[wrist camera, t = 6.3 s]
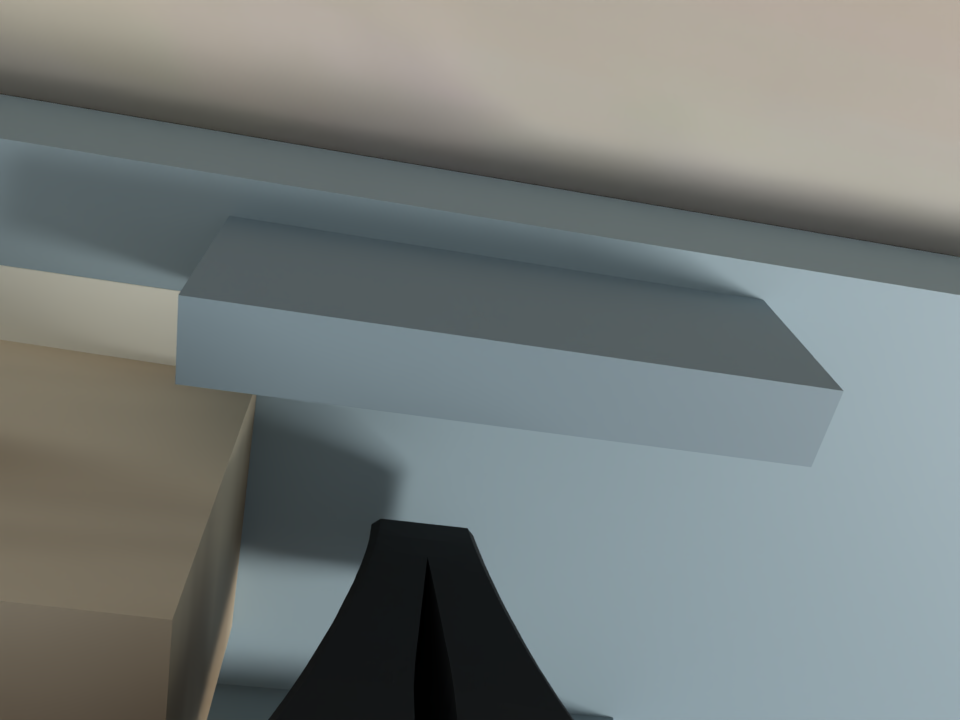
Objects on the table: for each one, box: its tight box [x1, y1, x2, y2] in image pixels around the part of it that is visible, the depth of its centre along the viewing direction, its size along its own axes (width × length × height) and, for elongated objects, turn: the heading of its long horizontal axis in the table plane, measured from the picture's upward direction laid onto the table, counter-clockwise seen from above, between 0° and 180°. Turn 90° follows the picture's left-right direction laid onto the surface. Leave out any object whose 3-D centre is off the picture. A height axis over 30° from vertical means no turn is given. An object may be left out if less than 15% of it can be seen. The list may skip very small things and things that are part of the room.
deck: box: [0, 94, 960, 720], centre depth 13 cm, size 10×25×4 cm, turn 80°
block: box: [0, 340, 257, 720], centre depth 10 cm, size 4×4×4 cm
